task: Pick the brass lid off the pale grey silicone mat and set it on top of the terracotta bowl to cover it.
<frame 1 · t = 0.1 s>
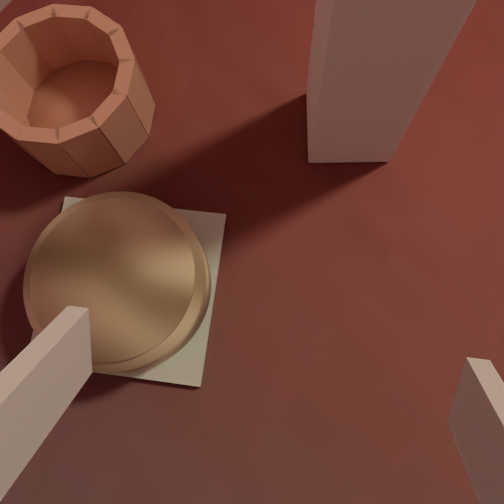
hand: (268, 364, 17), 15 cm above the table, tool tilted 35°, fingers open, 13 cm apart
milk: (346, 127, 36), on the table
terracotta bowl: (87, 114, 37), on the table
brass lid: (128, 286, 33), resting on silicone mat
silicone mat: (130, 287, 33), on the table
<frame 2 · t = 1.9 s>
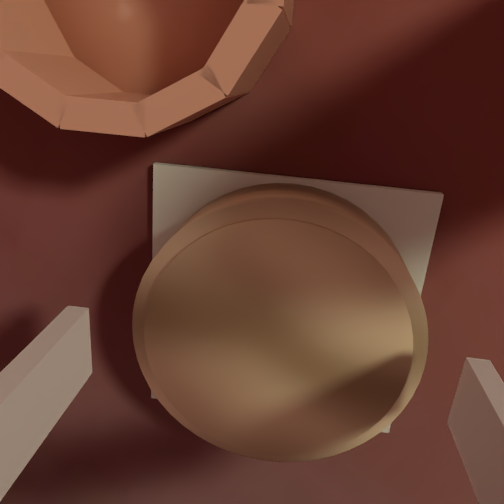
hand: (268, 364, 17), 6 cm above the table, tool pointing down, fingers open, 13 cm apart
brass lid: (279, 308, 22), resting on silicone mat
silicone mat: (280, 304, 22), on the table
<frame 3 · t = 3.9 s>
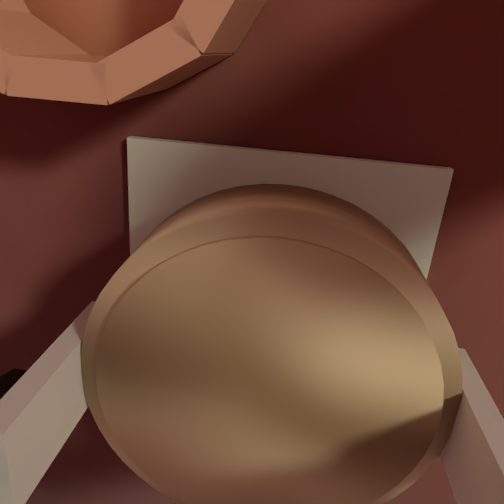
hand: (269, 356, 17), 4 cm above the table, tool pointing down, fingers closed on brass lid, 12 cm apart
brass lid: (270, 337, 17), point 3 cm above the table, touching gripper
silicone mat: (271, 292, 20), on the table
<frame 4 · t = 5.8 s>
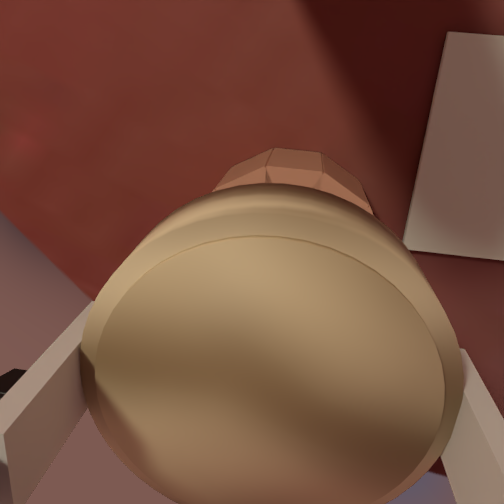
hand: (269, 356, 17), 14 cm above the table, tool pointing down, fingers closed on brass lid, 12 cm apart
terracotta bowl: (287, 233, 30), on the table
brass lid: (270, 337, 17), point 13 cm above the table, touching gripper
when the fingers open (7 cm above the table, at t = 7.7 s): brass lid drops 1 cm, resting on terracotta bowl.
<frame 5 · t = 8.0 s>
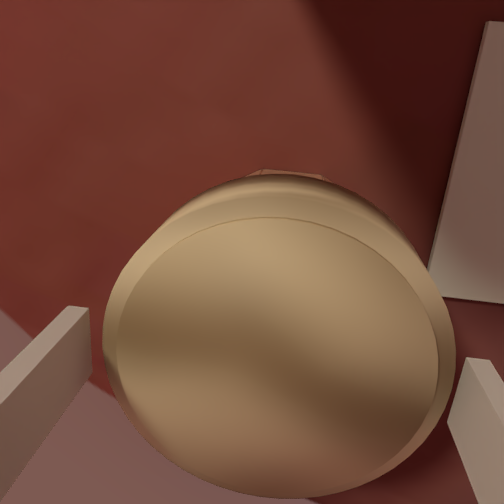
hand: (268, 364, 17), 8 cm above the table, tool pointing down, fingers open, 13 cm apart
brass lid: (277, 319, 19), point 5 cm above the table, touching terracotta bowl
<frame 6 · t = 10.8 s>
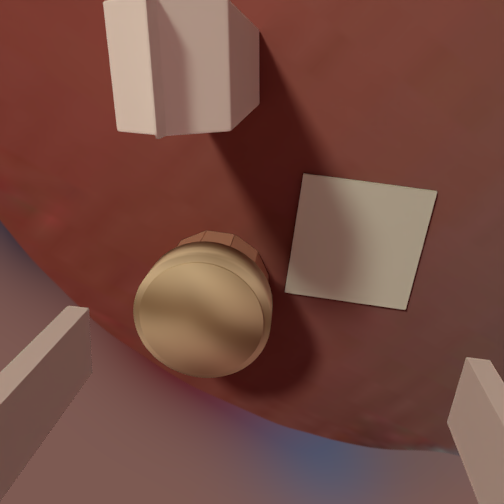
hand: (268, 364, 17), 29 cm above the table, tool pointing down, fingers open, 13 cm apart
milk: (225, 68, 41), on the table
terracotta bowl: (216, 280, 48), on the table
brass lid: (208, 302, 42), point 5 cm above the table, touching terracotta bowl
silicone mat: (356, 243, 45), on the table
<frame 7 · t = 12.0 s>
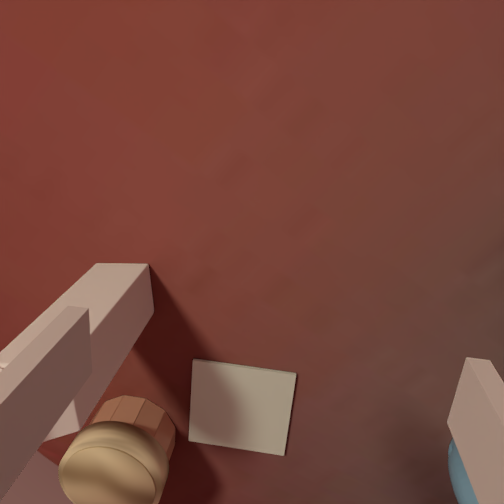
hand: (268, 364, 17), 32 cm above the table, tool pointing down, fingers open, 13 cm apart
milk: (126, 286, 53), on the table
terracotta bowl: (135, 430, 60), on the table
brass lid: (120, 461, 55), point 5 cm above the table, touching terracotta bowl
silicone mat: (240, 407, 57), on the table
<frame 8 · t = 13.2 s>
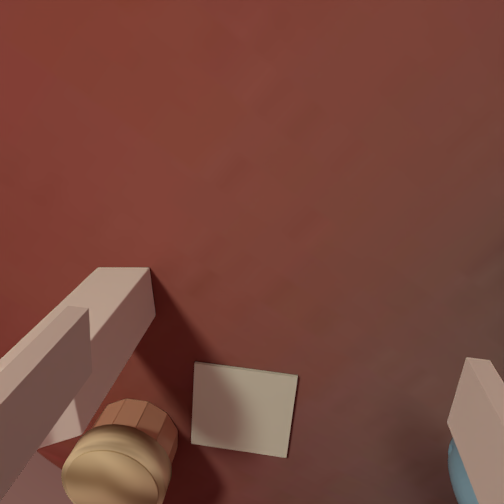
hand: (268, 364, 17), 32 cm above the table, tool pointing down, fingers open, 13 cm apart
milk: (128, 290, 53), on the table
terracotta bowl: (137, 433, 60), on the table
brass lid: (122, 464, 55), point 5 cm above the table, touching terracotta bowl
silicone mat: (242, 409, 57), on the table
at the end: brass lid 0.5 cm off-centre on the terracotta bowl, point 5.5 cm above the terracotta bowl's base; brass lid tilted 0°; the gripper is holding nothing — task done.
